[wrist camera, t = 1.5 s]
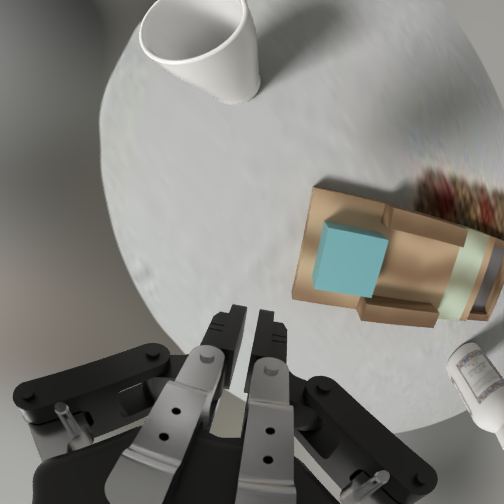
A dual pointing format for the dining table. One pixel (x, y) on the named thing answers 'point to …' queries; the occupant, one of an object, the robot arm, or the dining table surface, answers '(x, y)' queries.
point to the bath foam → (479, 387)
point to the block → (348, 259)
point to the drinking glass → (205, 45)
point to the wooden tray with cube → (407, 263)
